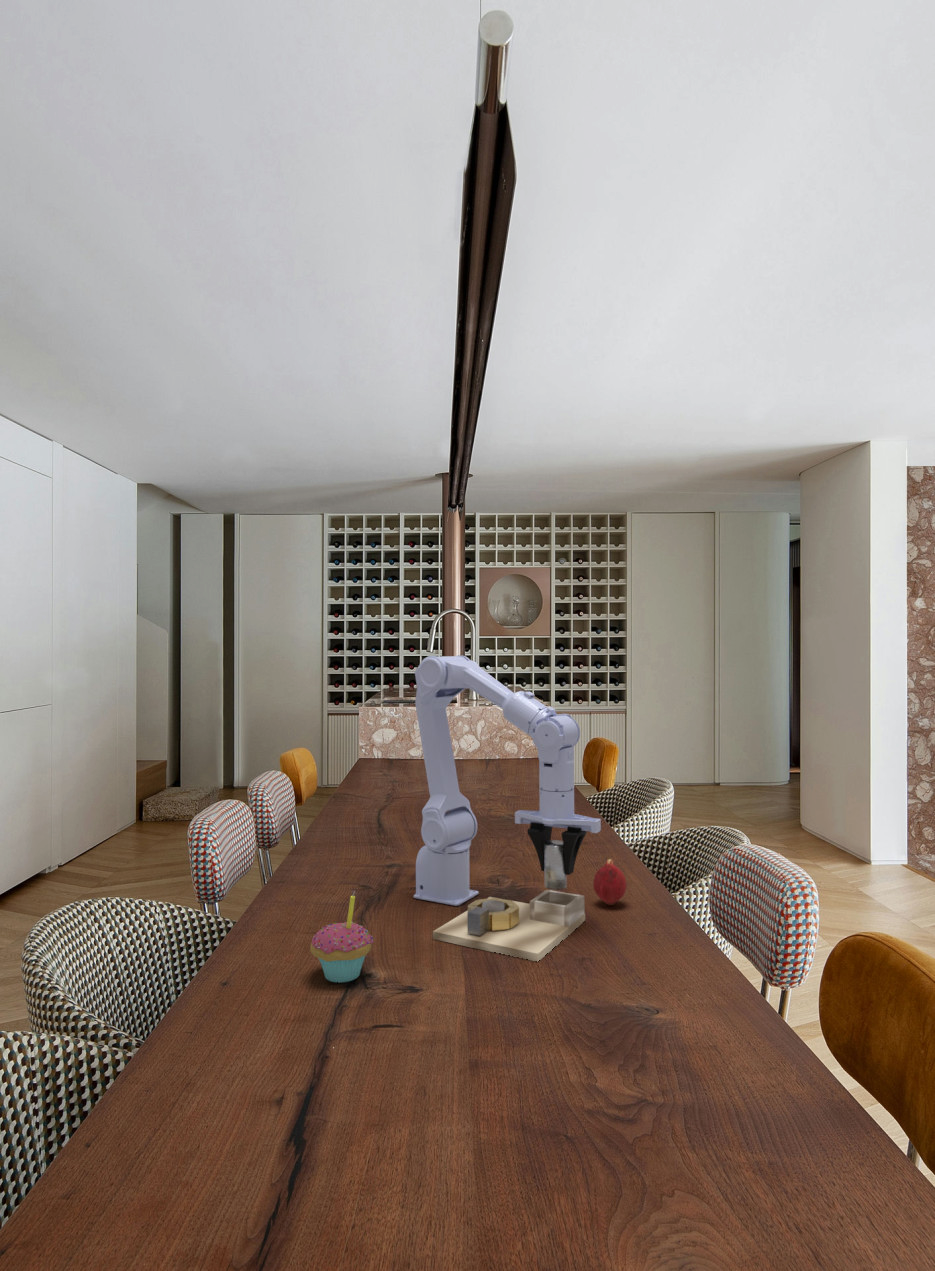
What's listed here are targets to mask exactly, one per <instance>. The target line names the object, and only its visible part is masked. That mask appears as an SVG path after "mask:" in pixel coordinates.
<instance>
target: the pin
mask: <svg viewBox="0 0 935 1271" xmlns="http://www.w3.org/2000/svg"><path fill="white" fill-rule="evenodd" d="M564 860H565V854H564V845H563V840H558V839H556V840H555V839H552V840H550V841H546V842H544V871H543V872H544V888H546V889H547V890H553V891H558V890H564V889H566V888H567V887H568V885H567V884H568V883H567V882H568V881H567V879H568V878H567V875H566V874H565V870H564Z"/></svg>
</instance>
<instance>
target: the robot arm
mask: <svg viewBox="0 0 935 1271" xmlns="http://www.w3.org/2000/svg"><path fill="white" fill-rule="evenodd" d="M414 676H415V682H416V683H415V684H416V694H415V700H414V701H415V702H414V703H415V709H416V710H415V711H416V716H417V724H418V729H419V734H420V735H419V736H420V741H421V747H422V753H423V754H422V755H423V761H424V767H425V773H426V778H427V785H428V790H429V799H428V801H427V802H426V803H425V805H424V807H423V808H422V810H421V814H422V816H421V817H422V824H421V827H420V828H421V829H420V835H421V839H422V841H423V843H424V844H425V845H423V846H422V847H420V849H419V851H418V853H417V856H416V860H415V894H414V895H413V898H415V899H418V900H423V901H429V902H434V903H439V904H445V905H450V906H455V907H457V906H461V905H462V904H464V903H465V902H467V901H469V900H470V899H472V898H474V897H475V896H477V895H478V894H479V891H478V890H474V889H470V847H471V846H472V840H473V839H474V838H475V837H476V835H477V833H478V820H477V818H476V815H475V814H474V812H473V811H472V808H471V803H470V800H469V799H468V798H467V797H466V796H465V795H463V794H462V793H461V792H460V787H459V786H460V785H459V781H458V774H457V767H456V761H455V757H454V750H453V743H452V739H451V732H450V728H449V727H450V725H449V721H448V720H449V719H448V714H447V713H448V712H447V708H448V706H449V705H450V703H451V702H452V700H453V699H455V697H457V695H459V694H461V693H462V692H463V691H465V690H466V689H470V691H472V692H474V693H476V694H477V695H479V696H481V697H482V698H484V699H486V700H487V701H489V702H491V703H492V704H494V705H495V706H497V707H499V708H500V709H501V710H502V715H503V717H504V719H505V720H506V721H507V722H509V723H510V724H512V725H513V726H514V727H516V728H517V729H519V730H520V731H522V732H523V733H524V734H526V735H528V736H529V737H531V739H532V743H533V745H534V746H535V747H536V750H537V758H538V760H539V762H538V763H539V765H538V766H539V768H538V769H539V776H538V777H539V778H538V779H539V780H538V782H539V783H538V784H539V786H538V787H539V788H538V789H539V793H538V794H539V810H525V809H524V810H523V809H519V810H517V811H514V824H519V825H521V824H525V825H530V826H529V828H528V829H527V835H528V837H529V838H530V840H531V842H532V844H533V846H534V849H535V852H536V854H537V858H538V862H539V864H540V865H539V866H540V871H542V872H544V842H546V841H550V840H551V839H552V832H553V828H559V829H567V830H565V831H562V832H561V840H562V841H563V845H564V854H565V860H564V870H565V874H566V875H568V876H570V875H571V874H573V873H574V871H575V864H576V860H577V855H578V853H579V851H580V847H581V845H582V843H583V841H584V839H585V837H586V835H587V832H590V833H592V834H597V833H599V832H601V831H602V830H601V829H602V825H601V824H602V822H601V821H602V819H601V818H596V817H591V816H586V815H581V814H576V813H575V760H574V759H575V746H576V745H577V744H578V743H579V740H580V737H581V730H580V726H579V724H578V722H577V721H576V720H575V718H574V717H572V716H571V714H569V713H561V714H560V713H559V714H558V713H557V712H556V711H557V710H556V709H555V708H554V707H552V706H546V705H545V704H544V703H542V702H540V701H539V700H538V699H536V698H535V693H533V692H531V691H523V690H519V691H516V692H513V691H512V689H509V688H508V687H506V686H505V685H504V684H503V683H501V682H500V681H499V680H498V679H495V678H494V677H493V676H492V675H490V673H488V672H487V671H485V670H484V669H483V668H481V667H480V666H479V664H478V662H476V661H474V660H471V659H470V658H469V657H467V656H465V655H463V654H462V655H461V654H460V655H454V656H452V655H450V656H449V655H448V656H447V655H446V656H444V655H443V656H436V655H429V656H427V657H425V658H423V659H422V661H421V662H419V665H418V666H417V668H416V669H415V670H414Z"/></svg>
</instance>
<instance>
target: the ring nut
mask: <svg viewBox="0 0 935 1271" xmlns="http://www.w3.org/2000/svg"><path fill="white" fill-rule="evenodd" d="M488 898H489V897H488ZM495 898H496V899H495ZM489 900H497V901H502V902H503V903H504V911H498V912H489V909H486V908H482V903H483V902H485V901H489ZM510 900H511V899H505V898H504V899H503V898H500V899H499V898H498V897H494V898H489V899H487V898H479V899H476V900H474V901H472V902H471V903H469V904H468V905H467V910H468V912H467V918H468V933H469V934H473V935H478V936H481V935H482V934H483V933H485V932H486V931H488V930H489V931H490V930H492V931H495V930H505V929H509V928H512V927H514V926H515V925H517V924H518V923H519V906H518V905H517V904H516V903H515V902H514V901H515V900H511V901H510Z"/></svg>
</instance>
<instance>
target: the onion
mask: <svg viewBox="0 0 935 1271" xmlns="http://www.w3.org/2000/svg"><path fill="white" fill-rule="evenodd" d="M592 883H593V889H594V893H595V894H596V895H597V896H598V898H599V899H600V901H602V902H603V903H605V904H606V905H608V906H612V905H615V903H617V902H618V901H620V899H622V897H624V895H625V893H626V891H627V879H626V876H625V874H624V872H623V871H622V870H621V869H620V868H619V867H618V866H617V865H615V864H614V860H613V859H610V858H609V859H607V860H606V863H605V864H604V865H602V866H601V867H600V868H598V870H597V871H596V873H595V874H594V876H593V882H592Z"/></svg>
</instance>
